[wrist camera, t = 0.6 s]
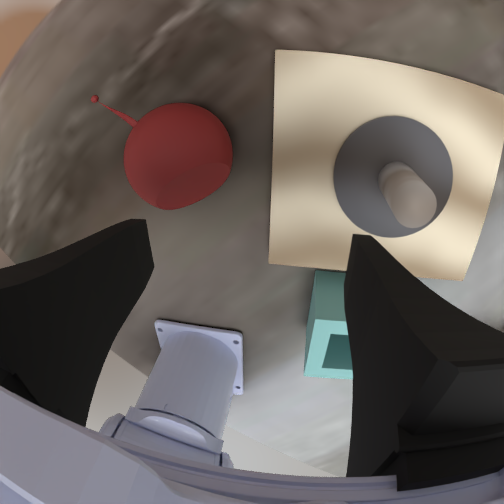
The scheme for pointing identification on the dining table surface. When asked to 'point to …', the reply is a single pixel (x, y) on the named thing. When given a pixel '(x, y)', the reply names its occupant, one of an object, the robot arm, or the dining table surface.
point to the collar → (327, 329)
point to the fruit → (176, 154)
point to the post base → (380, 162)
